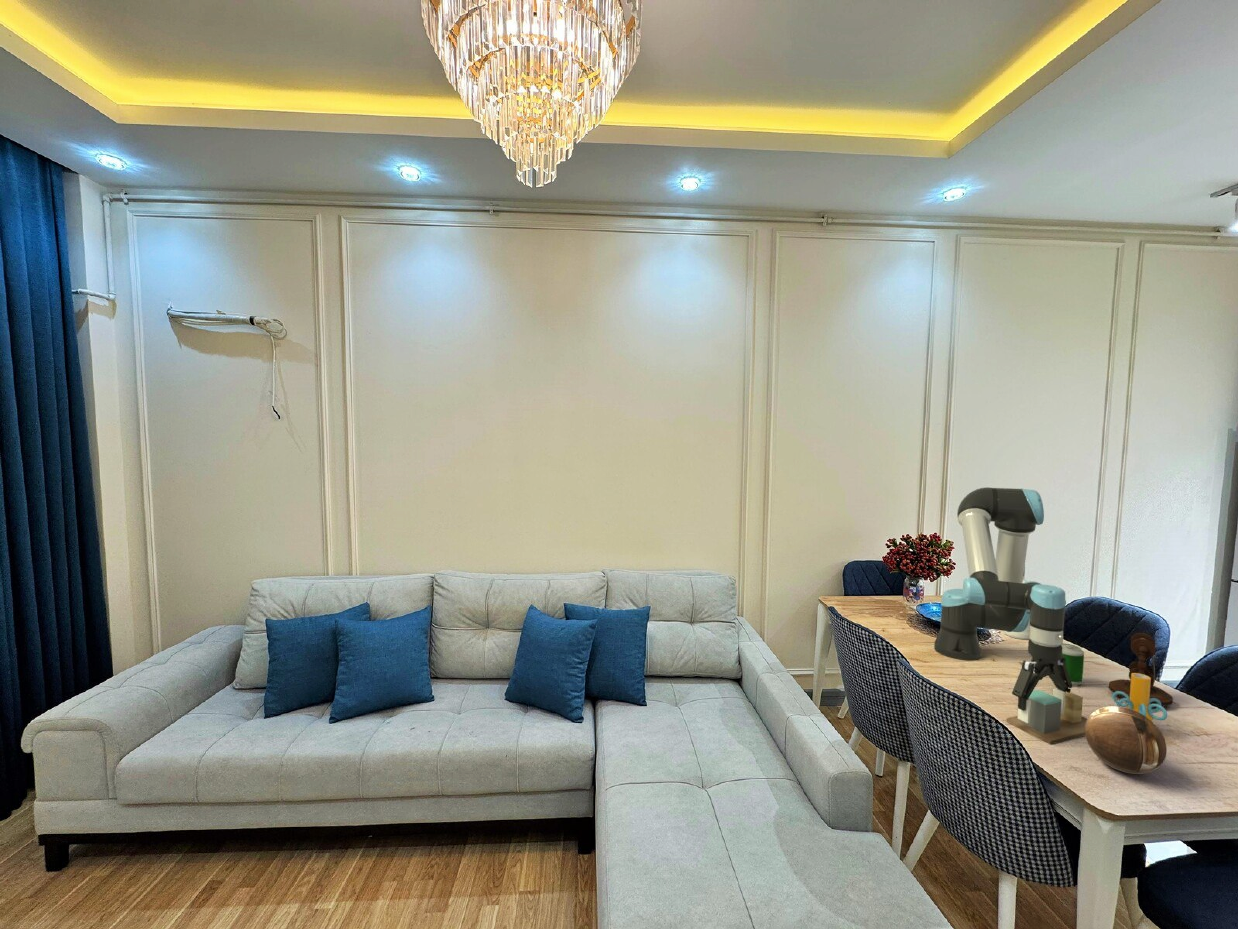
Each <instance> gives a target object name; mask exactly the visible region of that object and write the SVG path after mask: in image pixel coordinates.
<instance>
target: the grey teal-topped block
mask: <svg viewBox="0 0 1238 929" xmlns="http://www.w3.org/2000/svg"><path fill="white" fill-rule="evenodd" d="M1028 699H1030V700H1031V705H1030V722H1029V723H1026V722H1024V721H1022V720H1021V723H1023V724H1025V725H1027V726H1029V727H1031V728H1033V729H1035V730H1037V731H1039V732H1041V733H1043V734H1045V733H1049V732H1053V731H1057V730H1060V718H1061V702H1062V700H1061V699H1059V698H1057V697H1054V696H1053V694H1052V695H1051V694H1050V693H1048V692H1045V691H1043V690H1040V689H1034V690H1033V692H1032V693H1031V695H1030V697H1029V698H1028Z"/></svg>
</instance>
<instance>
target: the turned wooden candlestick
mask: <svg viewBox="0 0 1238 929" xmlns="http://www.w3.org/2000/svg"><path fill="white" fill-rule="evenodd" d="M1130 642H1131V643H1130V650H1131V652H1132V653H1133V654H1135V655H1136V657H1137V658H1138V659H1137V660H1138V661H1133V662H1130V664H1129V665H1128V670H1129V671H1128V678H1129V679H1121V678H1120V679H1114V680H1111V681H1109V682H1108V683H1107V684H1108V686H1107V688H1108V690H1109V691H1110V692H1112V694H1113V693H1114V692H1116V691H1121V692H1124V693H1125V694H1127V695H1128V696H1129V698H1130V685H1131V674H1132V673H1139V674H1143V675H1146V676H1149V677H1150V678H1151V683H1150V697H1149V699H1151V698H1156V699H1158V700H1159V701H1160V702H1161V706H1162V707H1163V708H1165V707H1166V706H1171V705H1173V703H1174V697H1173V696H1172V695H1171V694H1170V693H1168V692H1167V691H1166V690H1164V689H1161V687H1157V686H1155V685H1154V684H1155V681H1156V671H1155V670H1156V668H1155V659H1154V656H1155V654H1156V652H1157V647H1156V641H1155V639H1154V638H1153V637H1152V636H1151V635H1149V634H1147V633H1144V632H1136V633H1134V634H1133V635H1132V636H1131V638H1130ZM1150 658H1152V666H1153V668H1152V666H1151V665H1150V664H1148V663H1147V662H1146V661H1147V660H1149V659H1150ZM1122 698H1126V697H1125V696H1124V695H1122V694H1117V695H1116V699H1118V700H1120V699H1122ZM1150 704H1157V702H1156V701H1152V702H1151V703H1150ZM1150 704H1149V705H1150ZM1160 710H1161V709H1160ZM1160 710H1159V711H1160ZM1161 711H1162V710H1161Z"/></svg>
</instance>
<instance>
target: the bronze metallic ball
mask: <svg viewBox="0 0 1238 929" xmlns="http://www.w3.org/2000/svg"><path fill="white" fill-rule="evenodd" d="M1085 740H1086V743H1087V744H1088V747H1089V748H1090V749H1091V751H1092V752H1093V753H1094V755H1095V756H1096V757H1097V758H1098V759H1099V760H1100V761H1102V762H1103V763H1104V764H1106V765H1107V766H1110V767H1111V768H1113V769H1115V770H1117V771H1119V772H1123V773H1127V774H1131V775H1143V774H1148V773H1152V772H1154V771H1155V770H1157V769H1159V768H1160V767H1161V766H1162V765H1163V763H1164V762H1165V759H1166V757H1167V752H1168V751H1167V750H1168V748H1167V743H1166V740H1165V737H1164V735H1163V733H1162V731H1161V730H1160V729H1159V727H1158V726H1157V725H1156V724H1155V723H1154V722H1152V721H1151V720H1150V719H1148V718H1147V717H1145V716H1144V715H1142V714H1141V713H1139V712H1137V711H1134V710H1132V709H1129V708H1126V707H1119V706H1117V705H1109V706H1103V707H1100V708H1098V709H1096V710H1094V711H1093V712H1092V713H1091V714H1090V715H1089V716H1088V718H1087V721H1086V724H1085Z"/></svg>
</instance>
